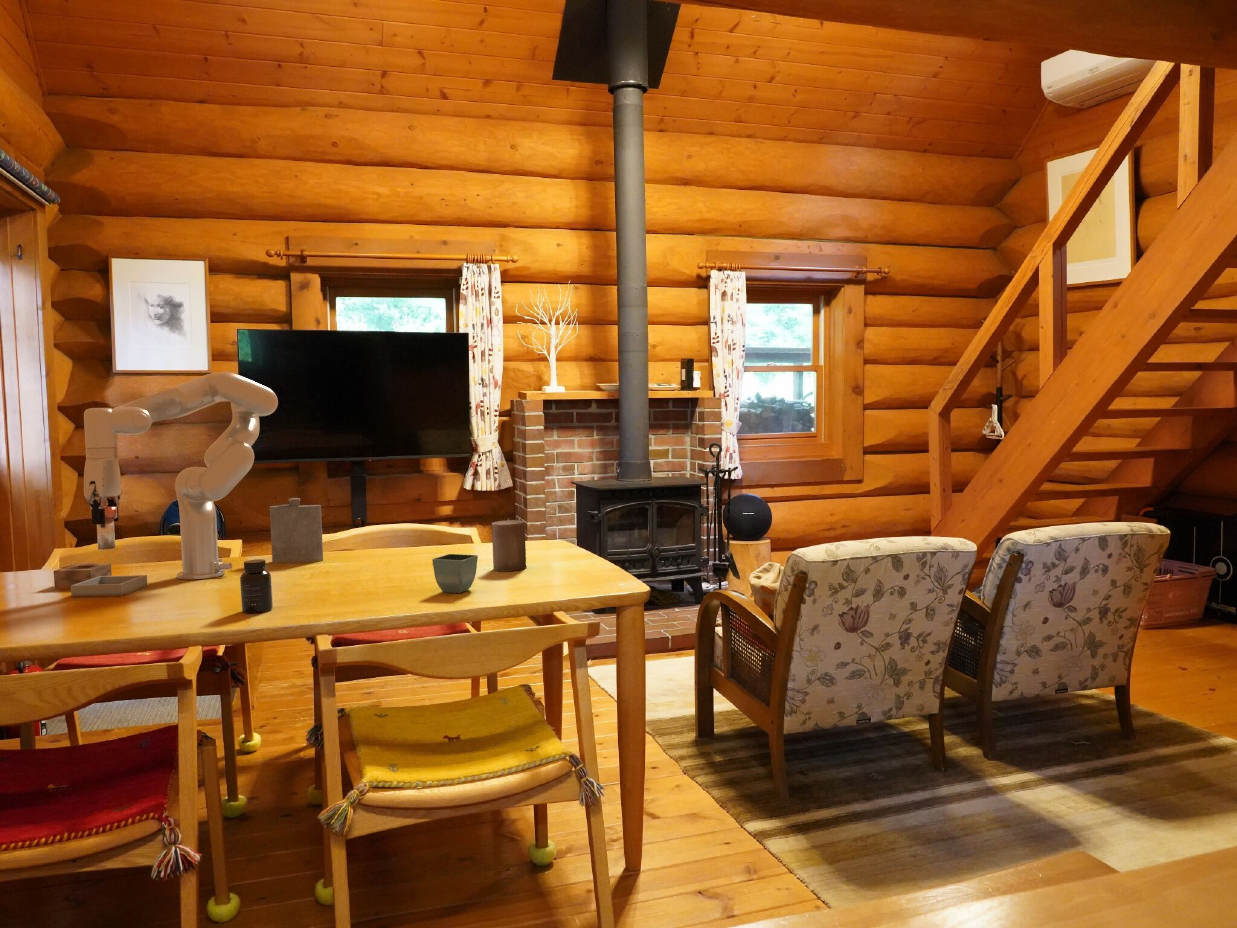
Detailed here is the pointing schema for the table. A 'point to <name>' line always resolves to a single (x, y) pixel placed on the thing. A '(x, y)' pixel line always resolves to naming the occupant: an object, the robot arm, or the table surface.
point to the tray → (108, 586)
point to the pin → (107, 529)
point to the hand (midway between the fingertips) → (105, 522)
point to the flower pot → (455, 572)
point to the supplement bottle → (256, 587)
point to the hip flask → (296, 533)
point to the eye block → (79, 574)
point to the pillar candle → (509, 545)
